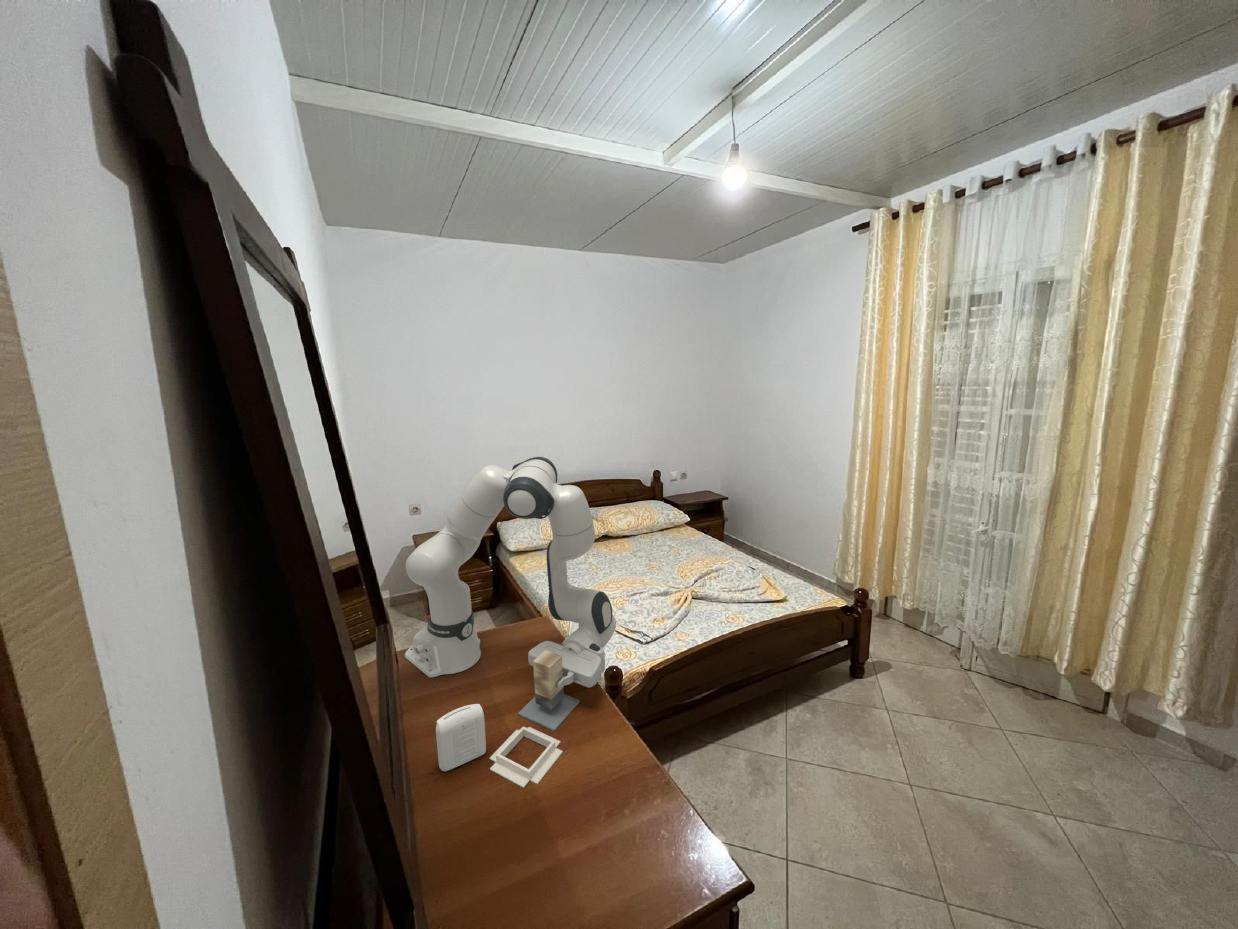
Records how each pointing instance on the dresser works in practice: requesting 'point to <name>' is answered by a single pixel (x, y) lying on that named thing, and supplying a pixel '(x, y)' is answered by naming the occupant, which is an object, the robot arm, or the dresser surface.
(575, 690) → the dresser surface
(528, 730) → the flanged square frame
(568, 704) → the slate mat
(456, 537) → the robot arm
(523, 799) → the dresser surface
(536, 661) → the block
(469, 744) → the photo printer
